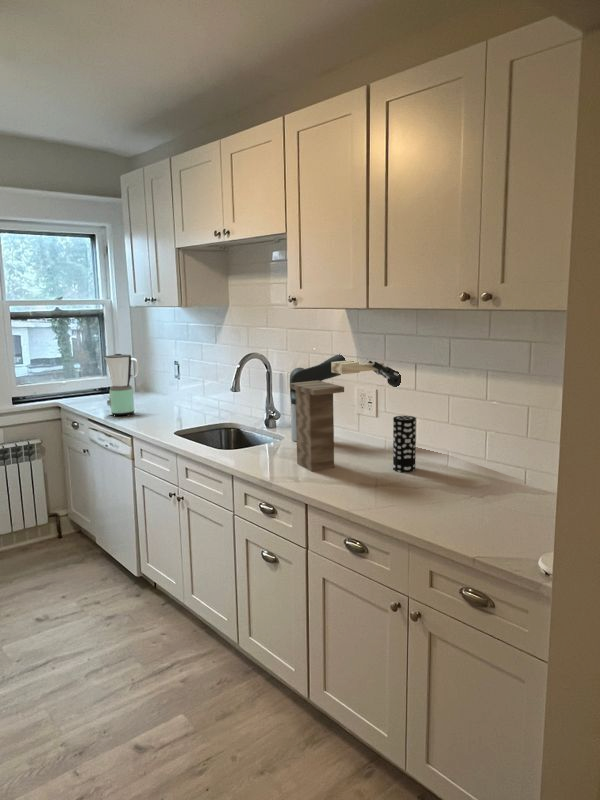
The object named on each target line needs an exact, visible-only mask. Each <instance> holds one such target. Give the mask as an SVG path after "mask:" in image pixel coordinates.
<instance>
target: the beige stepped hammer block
mask: <svg viewBox="0 0 600 800" xmlns="http://www.w3.org/2000/svg"><path fill="white" fill-rule="evenodd" d="M367 363H368V362H367ZM367 363H363V364H359V362H354V361H338V362H331V372H333V373H338V374H342V375H350V374H351V375H352V374H358V373H360V372H367V371H368V372H369V371H373V370H378V369H376V368H375V367H373V363H374V362H373V363H368V364H367ZM377 363H379V364H381V365H384V364H385V362H378V361H377ZM384 366H385V365H384Z"/></svg>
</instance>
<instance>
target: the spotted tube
mask: <svg viewBox="0 0 600 800" xmlns="http://www.w3.org/2000/svg"><path fill="white" fill-rule="evenodd" d="M392 419H393V428H392V429H393V434H392V435H393V439H392V441H393V443H392V446H393V448H392V449H393V450H392V451H393V452H392V453H393V454H392V459H393V460H392V461H393V462H392V464H393V465H392V466H393V467H392V469H393V470H395V472H397V471H398V473H403V472H407V473H413V472H414V470H415V471H416V448H417V446H416V445H417V444H416V443H417V442H416V439H417V434H416V432H417V431H416V430H417V429H416V428H417V424H416V423H417V417H415V416H412V415H397V416H393V418H392ZM412 471H413V472H412Z"/></svg>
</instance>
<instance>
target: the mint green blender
mask: <svg viewBox="0 0 600 800" xmlns="http://www.w3.org/2000/svg"><path fill="white" fill-rule="evenodd" d="M103 358H104V359H105V362H106V365H107V367H108V371H109V376H110V380H111V386H110V388H109V397H108V398H107V399H106V404H107V406H109V408H110V413H111V415H112V416H113V415H117V416H127V415H130V416H131V414H133V413H135V401H134V400H135V398H134V389H133V387H132V386H131V385H130V381H131V379H134V378H136V377H137V376H138V375H139V362H138V360H137V358H135V357H132V355H131V354H121V353H115V354H112V355H111V354H110V355H104V356H103ZM132 362H134V365H135V366H134V367H135V369H134V370H135V373H134V374H132V373H131V372H132Z"/></svg>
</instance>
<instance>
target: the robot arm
mask: <svg viewBox="0 0 600 800" xmlns="http://www.w3.org/2000/svg"><path fill="white" fill-rule="evenodd" d="M338 354H339V355H338ZM338 354H336V355H334V356H331V357H329V358H328V359H326V360H324V361H323V362H321V363H320V364H317V365H314V366H310V367H307V368H304V367H297V368H294V369H293V370H292V371H291V372H290V375H289V384H290V383H298V382H308V381H318V380H319V381H324V380H328V379H331V378H335V377H339V376H341V374H338V373H333V372H331V362H338V361H346V360H345V358H344V357H343V356H342V355H340V354H341V353H338ZM367 361H368V362H367V363H366V364H368V363H373V367H375V368H376V369H378V370H372V371H373V372H374V373H376V374H377V375H378V376H382V377H383V378H385V379H386V380H387V381H386V382H387V384H388V385H389V386H391V387H393V388H394V387H397V386H399V385H400V383H401V375H400V374H399V372H398V371H395V370H393V369H392V368H391V367H390V366H389V365H386V366H385V365H381V364H379V363H380V362H379V363H378V361H371V360H367ZM398 374H399V375H398ZM289 393H290V394H289V397H290V413H291V414H290V415H291V416H290V418H291V419H290V424H291V425H290V427H291V431H290V433H291V440H292V442H296V441H297V434H296V394H295V390H294V389H290V388H289Z"/></svg>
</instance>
